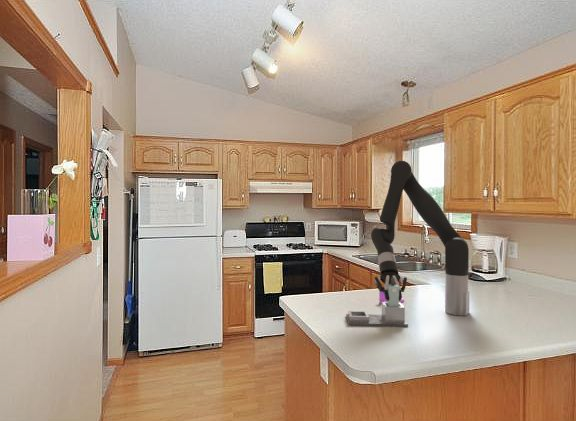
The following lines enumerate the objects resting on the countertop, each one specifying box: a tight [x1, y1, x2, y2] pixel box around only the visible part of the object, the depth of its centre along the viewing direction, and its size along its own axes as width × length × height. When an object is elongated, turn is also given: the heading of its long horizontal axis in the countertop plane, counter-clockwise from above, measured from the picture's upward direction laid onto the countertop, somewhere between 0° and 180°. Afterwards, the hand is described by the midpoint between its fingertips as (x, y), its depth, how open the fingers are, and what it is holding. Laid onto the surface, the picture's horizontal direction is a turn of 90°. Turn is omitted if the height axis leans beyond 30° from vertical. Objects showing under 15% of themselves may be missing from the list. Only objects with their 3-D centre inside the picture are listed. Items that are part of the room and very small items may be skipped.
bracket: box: [378, 290, 405, 304], centre depth 178 cm, size 13×6×7 cm, turn 121°
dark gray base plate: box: [345, 302, 409, 328], centre depth 149 cm, size 23×12×7 cm, turn 86°
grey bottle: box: [387, 278, 400, 307], centre depth 148 cm, size 4×5×13 cm
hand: (393, 299), depth 146 cm, fingers closed on grey bottle, 4 cm apart
